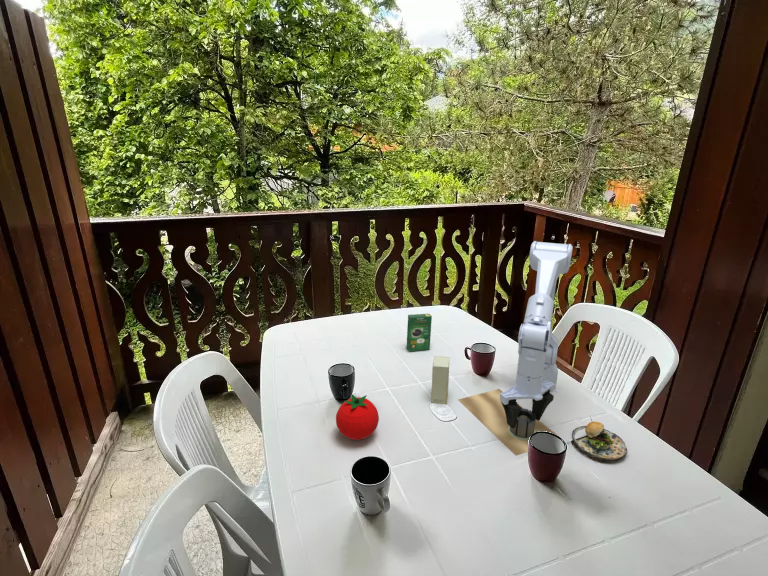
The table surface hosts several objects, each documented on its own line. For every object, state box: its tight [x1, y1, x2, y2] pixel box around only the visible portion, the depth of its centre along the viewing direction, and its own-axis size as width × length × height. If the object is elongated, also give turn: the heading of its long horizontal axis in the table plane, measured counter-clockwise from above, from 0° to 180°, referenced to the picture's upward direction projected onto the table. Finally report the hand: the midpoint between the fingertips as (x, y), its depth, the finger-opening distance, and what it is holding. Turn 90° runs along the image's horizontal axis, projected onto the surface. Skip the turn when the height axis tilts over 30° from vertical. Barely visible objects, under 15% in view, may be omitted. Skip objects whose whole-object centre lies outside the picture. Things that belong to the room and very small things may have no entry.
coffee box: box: [406, 313, 433, 353], centre depth 143 cm, size 8×3×13 cm, turn 103°
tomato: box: [335, 393, 380, 441], centre depth 100 cm, size 10×10×10 cm
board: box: [457, 388, 558, 457], centre depth 106 cm, size 14×24×5 cm, turn 23°
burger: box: [570, 416, 628, 463], centre depth 97 cm, size 12×12×8 cm
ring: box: [510, 407, 536, 438], centre depth 100 cm, size 6×6×4 cm
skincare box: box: [431, 355, 450, 405], centre depth 113 cm, size 6×4×12 cm
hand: (523, 421), depth 100 cm, fingers open, 7 cm apart
